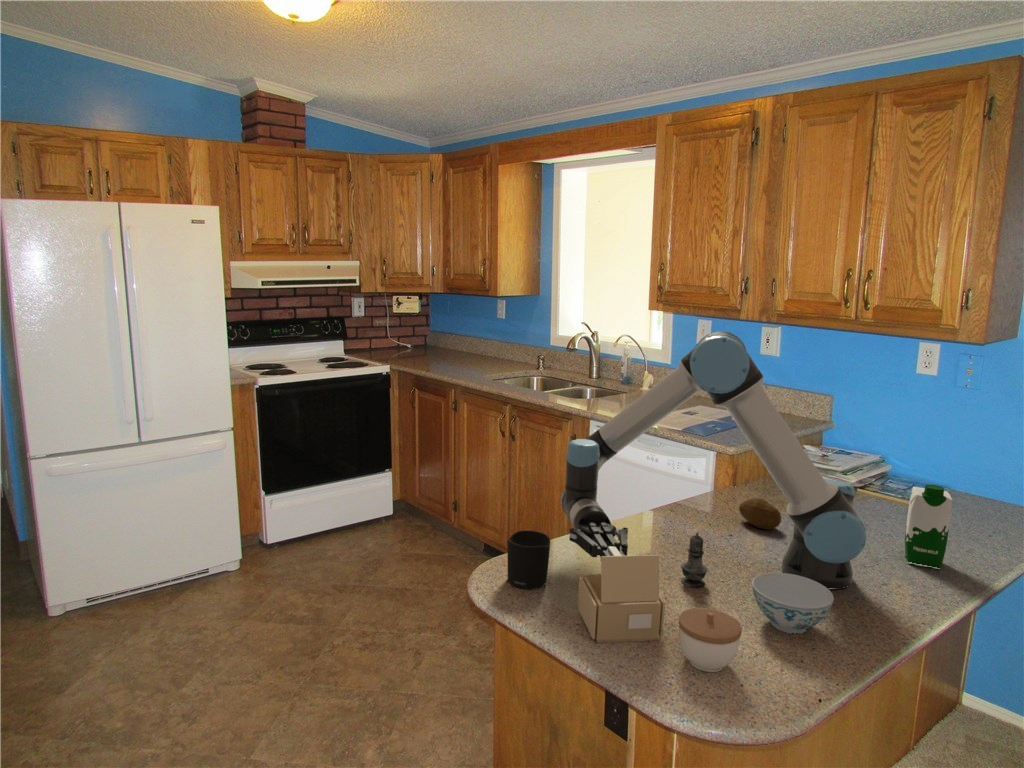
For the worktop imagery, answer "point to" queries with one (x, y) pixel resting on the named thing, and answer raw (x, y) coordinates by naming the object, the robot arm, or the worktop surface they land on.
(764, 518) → the potato
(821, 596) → the chinaware
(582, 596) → the carton
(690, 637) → the lidded jar
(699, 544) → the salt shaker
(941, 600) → the worktop surface
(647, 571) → the flap
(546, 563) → the pen holder
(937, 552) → the milk carton
